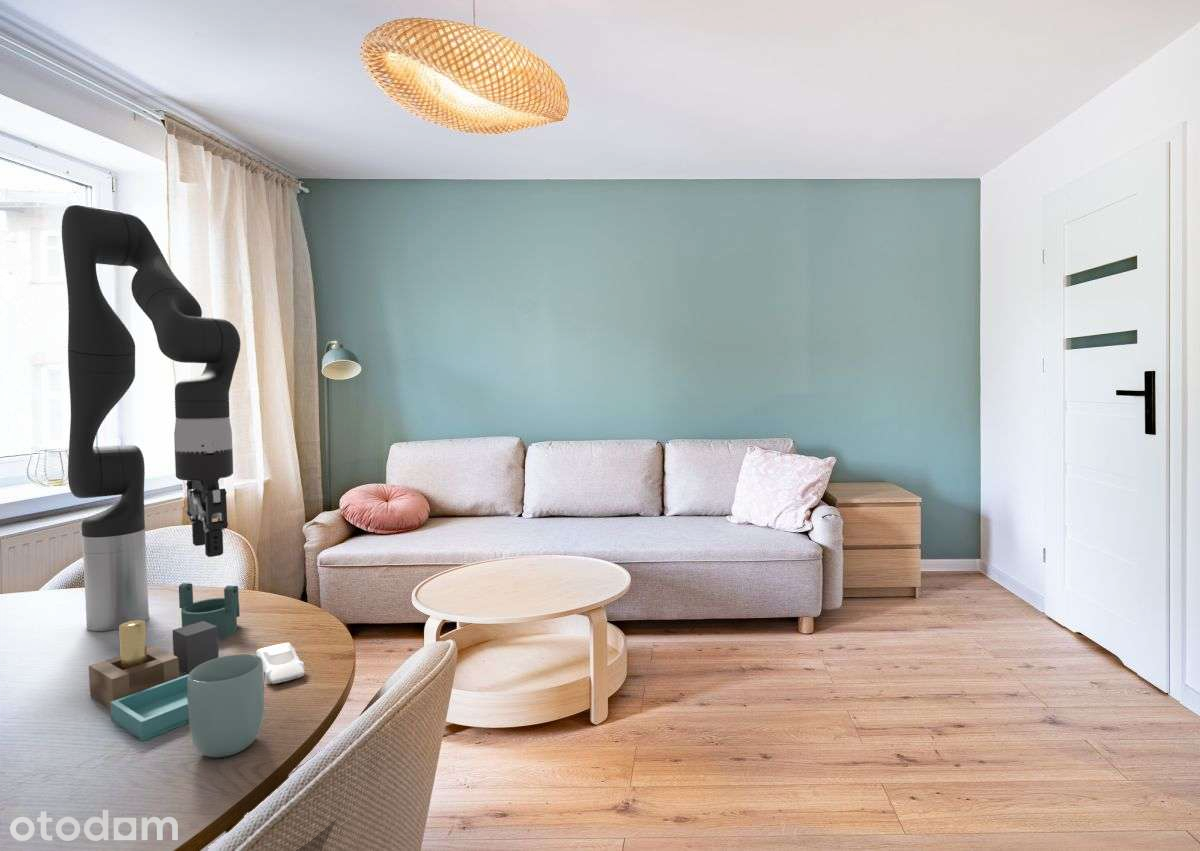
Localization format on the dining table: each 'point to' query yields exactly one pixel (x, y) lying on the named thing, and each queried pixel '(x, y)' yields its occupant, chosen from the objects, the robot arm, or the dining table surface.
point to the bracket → (210, 609)
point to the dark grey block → (195, 645)
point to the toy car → (280, 663)
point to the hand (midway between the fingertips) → (207, 550)
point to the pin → (132, 644)
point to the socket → (131, 675)
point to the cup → (225, 704)
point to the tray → (153, 709)
